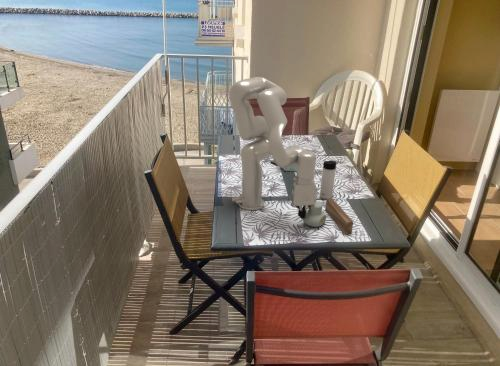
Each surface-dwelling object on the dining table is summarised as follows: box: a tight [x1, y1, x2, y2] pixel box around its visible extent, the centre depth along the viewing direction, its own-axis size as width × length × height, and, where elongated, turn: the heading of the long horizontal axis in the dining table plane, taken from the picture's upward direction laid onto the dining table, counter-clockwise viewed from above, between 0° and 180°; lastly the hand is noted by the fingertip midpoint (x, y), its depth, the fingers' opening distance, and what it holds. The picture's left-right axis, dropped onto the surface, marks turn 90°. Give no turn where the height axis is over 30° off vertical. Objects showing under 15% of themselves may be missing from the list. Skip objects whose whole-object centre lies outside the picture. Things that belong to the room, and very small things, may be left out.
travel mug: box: [319, 160, 337, 201], centre depth 206 cm, size 6×7×20 cm
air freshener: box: [301, 200, 327, 228], centre depth 185 cm, size 11×8×10 cm
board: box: [325, 197, 354, 235], centre depth 188 cm, size 3×22×6 cm, turn 14°
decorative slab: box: [270, 159, 297, 173], centre depth 246 cm, size 26×24×2 cm
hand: (301, 217), depth 183 cm, fingers closed
